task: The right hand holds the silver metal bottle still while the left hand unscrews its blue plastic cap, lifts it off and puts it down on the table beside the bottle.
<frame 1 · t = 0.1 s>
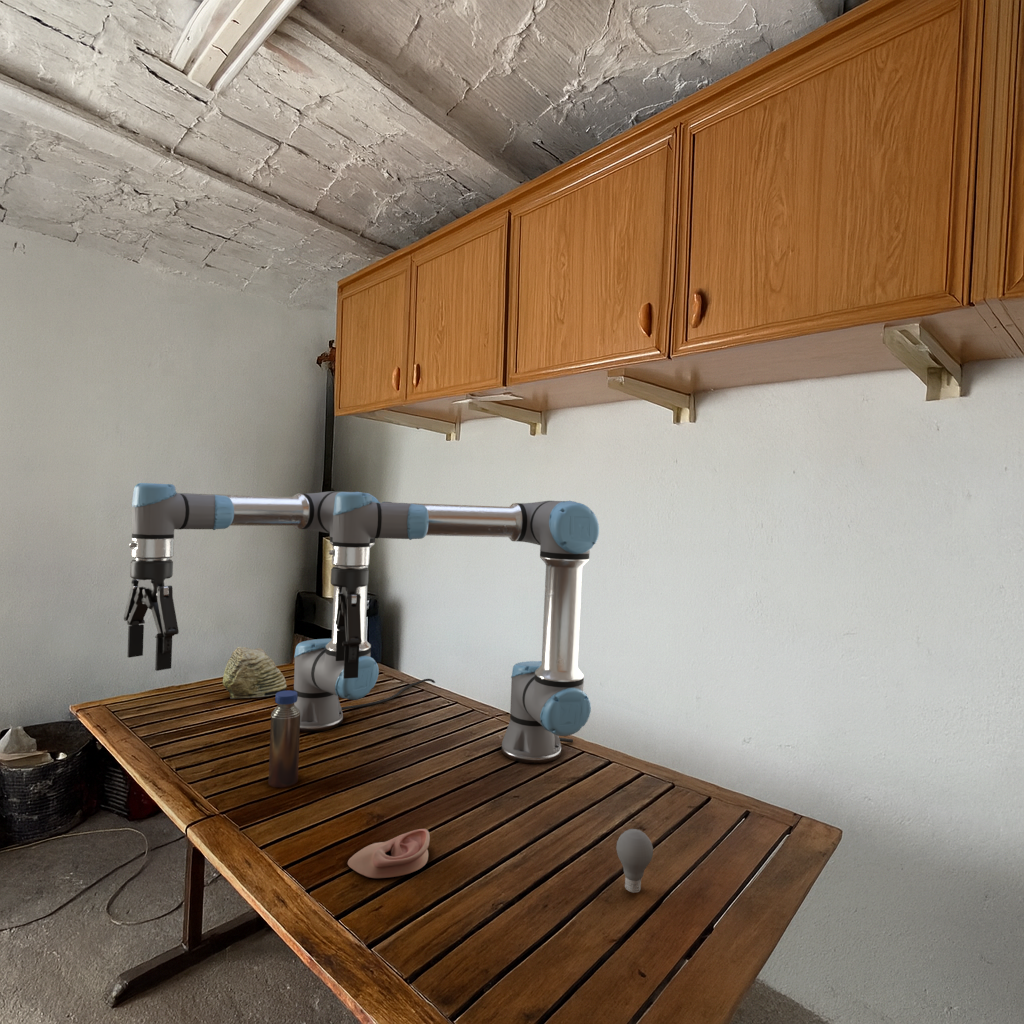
left hand: (148, 662, 129), 28 cm above the table, tool pointing down, fingers open, 13 cm apart
right hand: (346, 668, 131), 28 cm above the table, tool pointing down, fingers open, 13 cm apart
bottle: (283, 781, 140), on the table
cap: (286, 694, 140), point 19 cm above the table, screwed on, not yet turned
anatomical model: (389, 861, 111), on the table
light bulb: (632, 891, 106), on the table
fossil: (254, 694, 198), on the table
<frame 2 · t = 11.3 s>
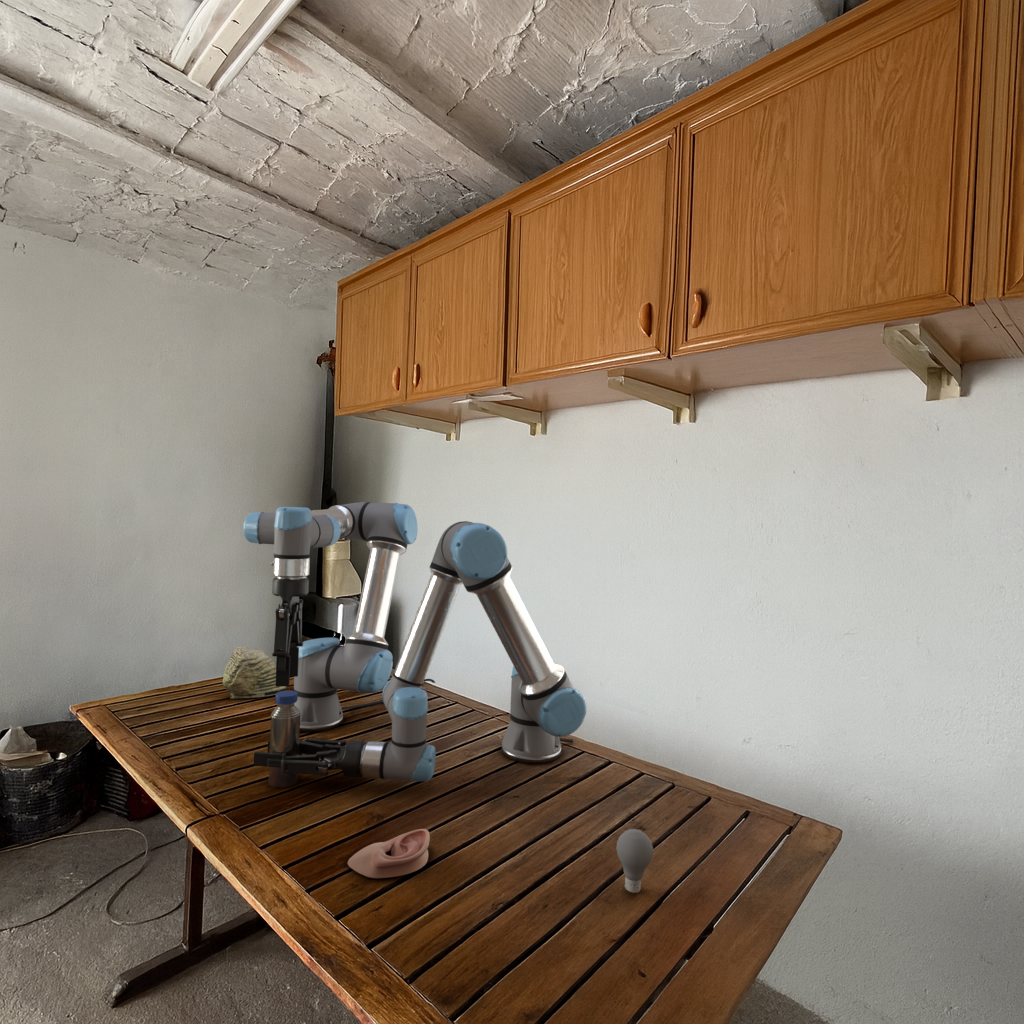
left hand: (287, 680, 140), 22 cm above the table, tool pointing down, fingers open, 7 cm apart
right hand: (261, 752, 140), 6 cm above the table, tool horizontal, fingers closed on bottle, 6 cm apart
bottle: (283, 781, 140), on the table, touching right hand
everything else where it was.
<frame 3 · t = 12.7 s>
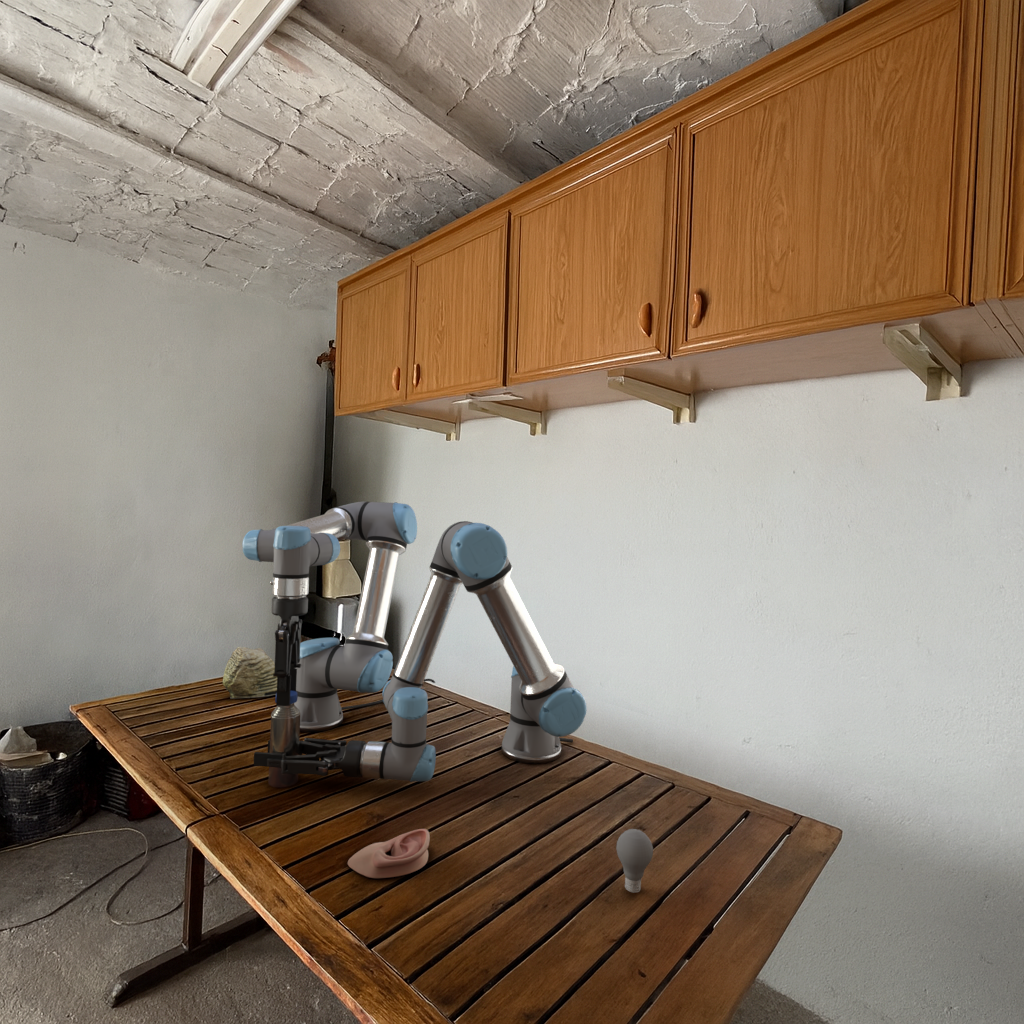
left hand: (286, 701, 140), 18 cm above the table, tool pointing down, fingers closed on cap, 4 cm apart
right hand: (261, 752, 140), 6 cm above the table, tool horizontal, fingers closed on bottle, 6 cm apart
bottle: (283, 781, 140), on the table, touching right hand
cap: (286, 694, 140), point 19 cm above the table, screwed on, not yet turned, touching left hand
everything else where it was.
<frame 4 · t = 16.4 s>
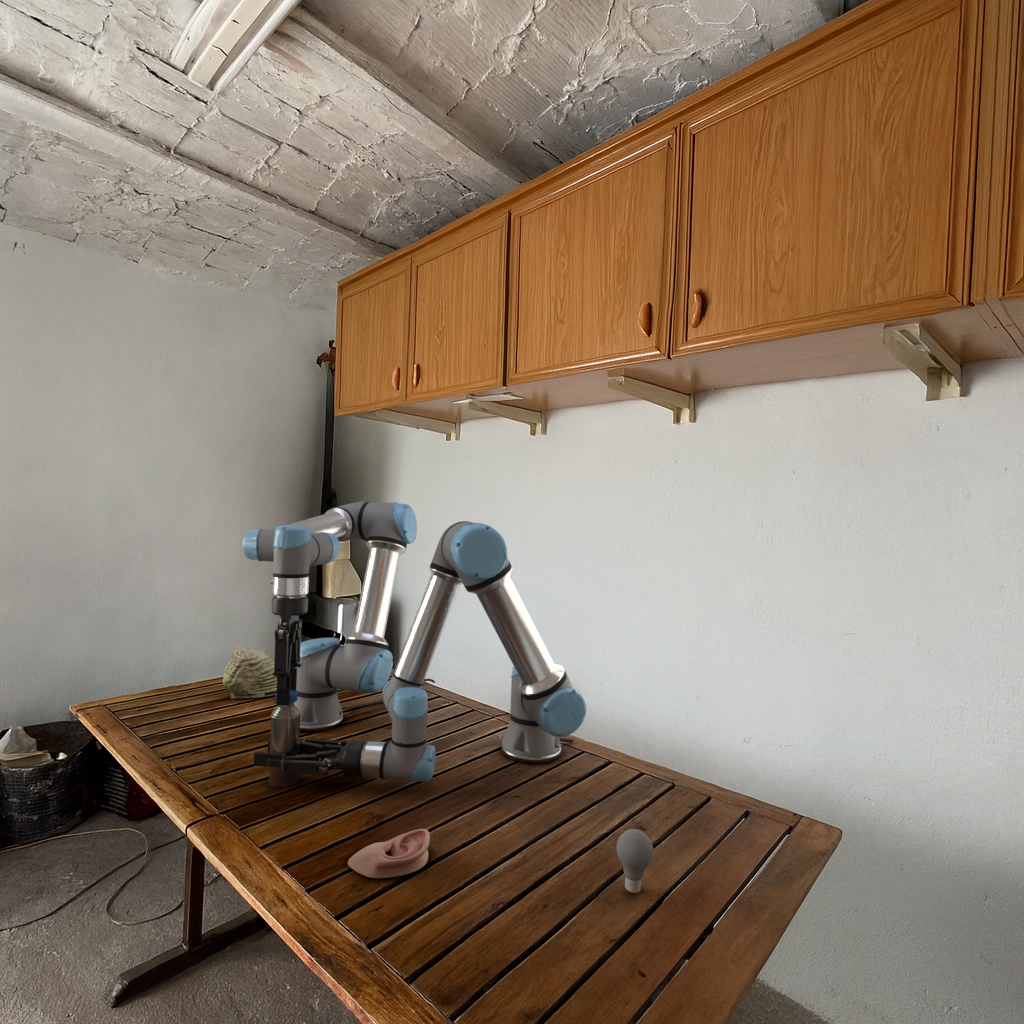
left hand: (286, 700, 140), 18 cm above the table, tool pointing down, fingers closed on cap, 4 cm apart
right hand: (261, 752, 140), 6 cm above the table, tool horizontal, fingers closed on bottle, 6 cm apart
bottle: (283, 781, 140), on the table, touching right hand
cap: (286, 694, 140), point 19 cm above the table, turned 125° so far, risen 0.1 cm, still on its thread, touching left hand
everything else where it was.
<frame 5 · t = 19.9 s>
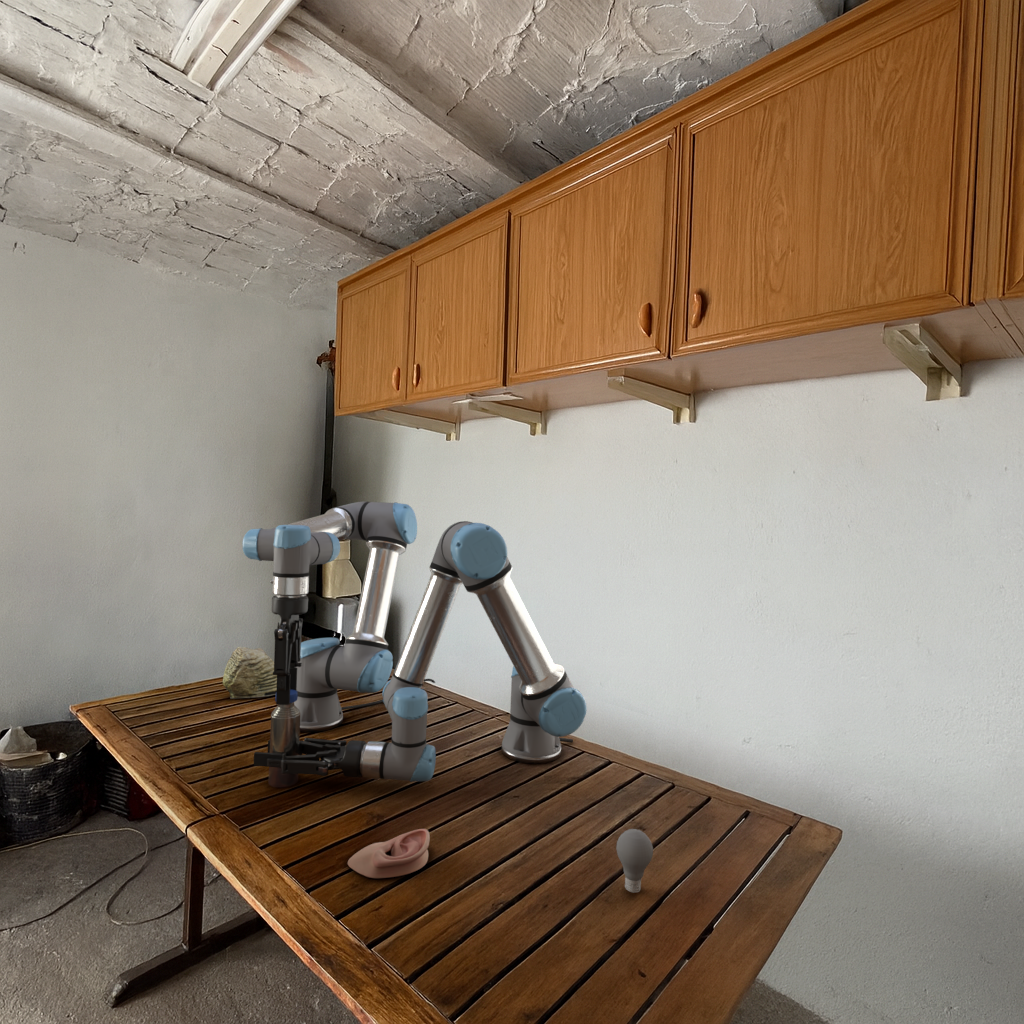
left hand: (286, 700, 140), 18 cm above the table, tool pointing down, fingers closed on cap, 4 cm apart
right hand: (261, 752, 140), 6 cm above the table, tool horizontal, fingers closed on bottle, 6 cm apart
bottle: (283, 781, 140), on the table, touching right hand
cap: (286, 693, 140), point 20 cm above the table, turned 249° so far, risen 0.2 cm, still on its thread, touching left hand
everything else where it was.
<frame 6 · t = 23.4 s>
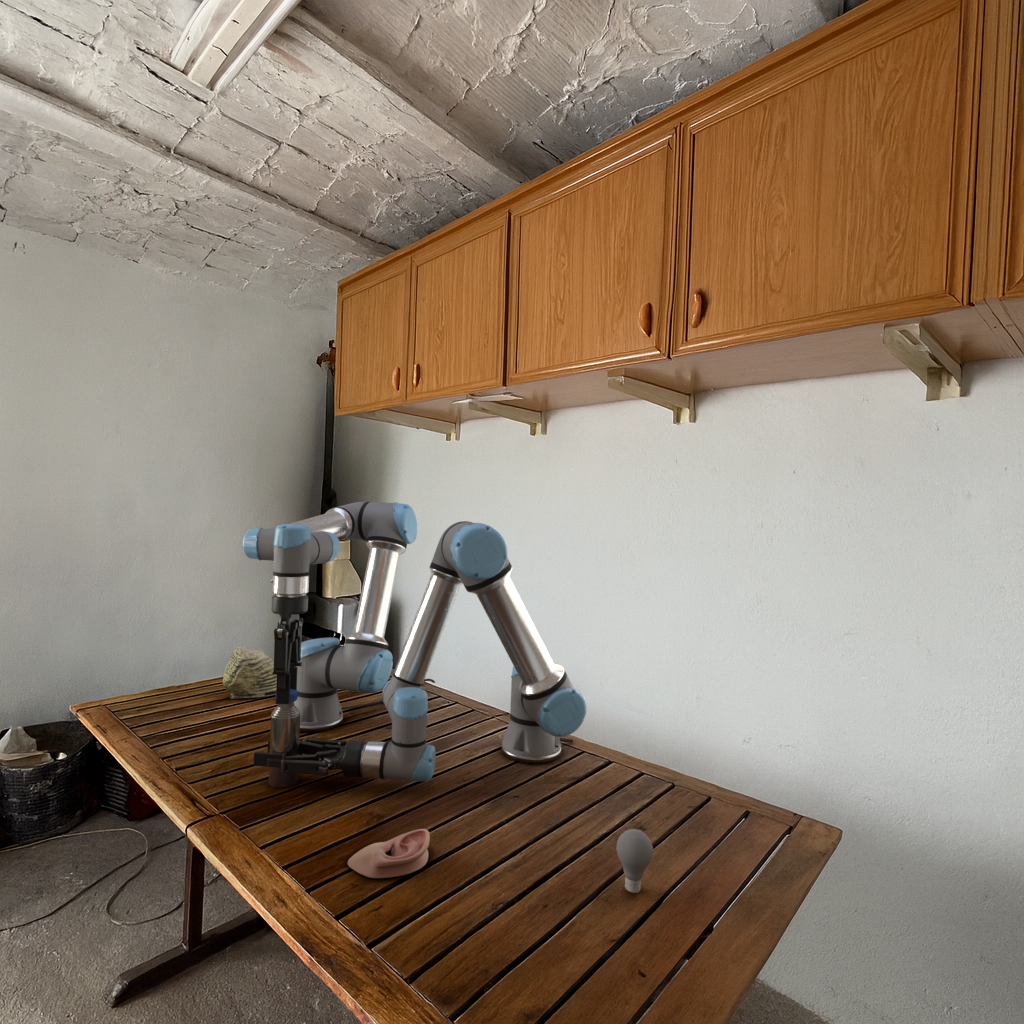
left hand: (286, 699, 140), 18 cm above the table, tool pointing down, fingers closed on cap, 4 cm apart
right hand: (261, 752, 140), 6 cm above the table, tool horizontal, fingers closed on bottle, 6 cm apart
bottle: (283, 781, 140), on the table, touching right hand
cap: (286, 693, 140), point 20 cm above the table, turned 374° so far, risen 0.3 cm, still on its thread, touching left hand
everything else where it was.
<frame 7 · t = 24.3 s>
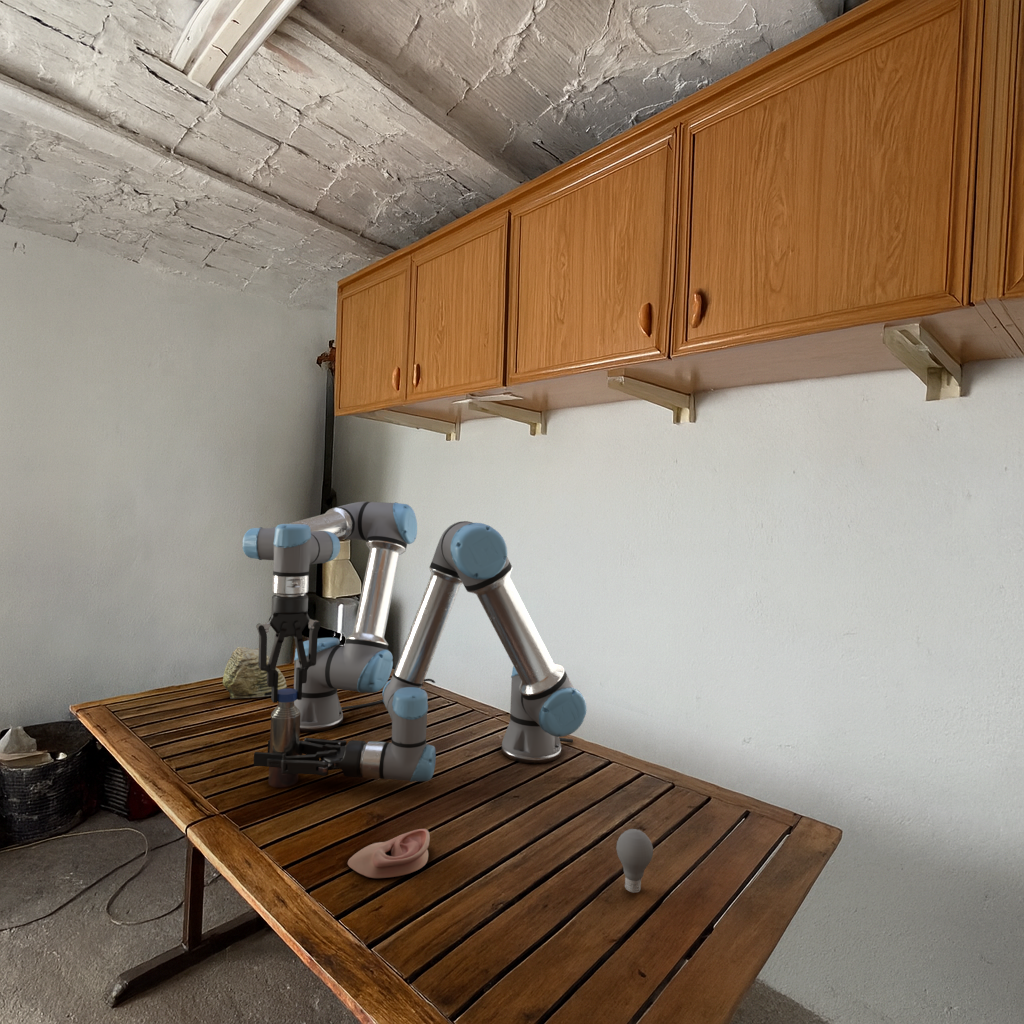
left hand: (286, 699, 140), 18 cm above the table, tool pointing down, fingers closed on cap, 4 cm apart
right hand: (261, 752, 140), 6 cm above the table, tool horizontal, fingers closed on bottle, 6 cm apart
bottle: (283, 781, 140), on the table, touching right hand
cap: (286, 692, 140), point 20 cm above the table, off its thread, touching left hand
everything else where it was.
when the left hand's fingers open (1 cm above the table, at t = 29.8 s): cap drops 1 cm, point 1 cm above the table.
when the right hand's fingers open (6 cm above the table, at t = 30.9 s): bottle stays where it is, on the table.
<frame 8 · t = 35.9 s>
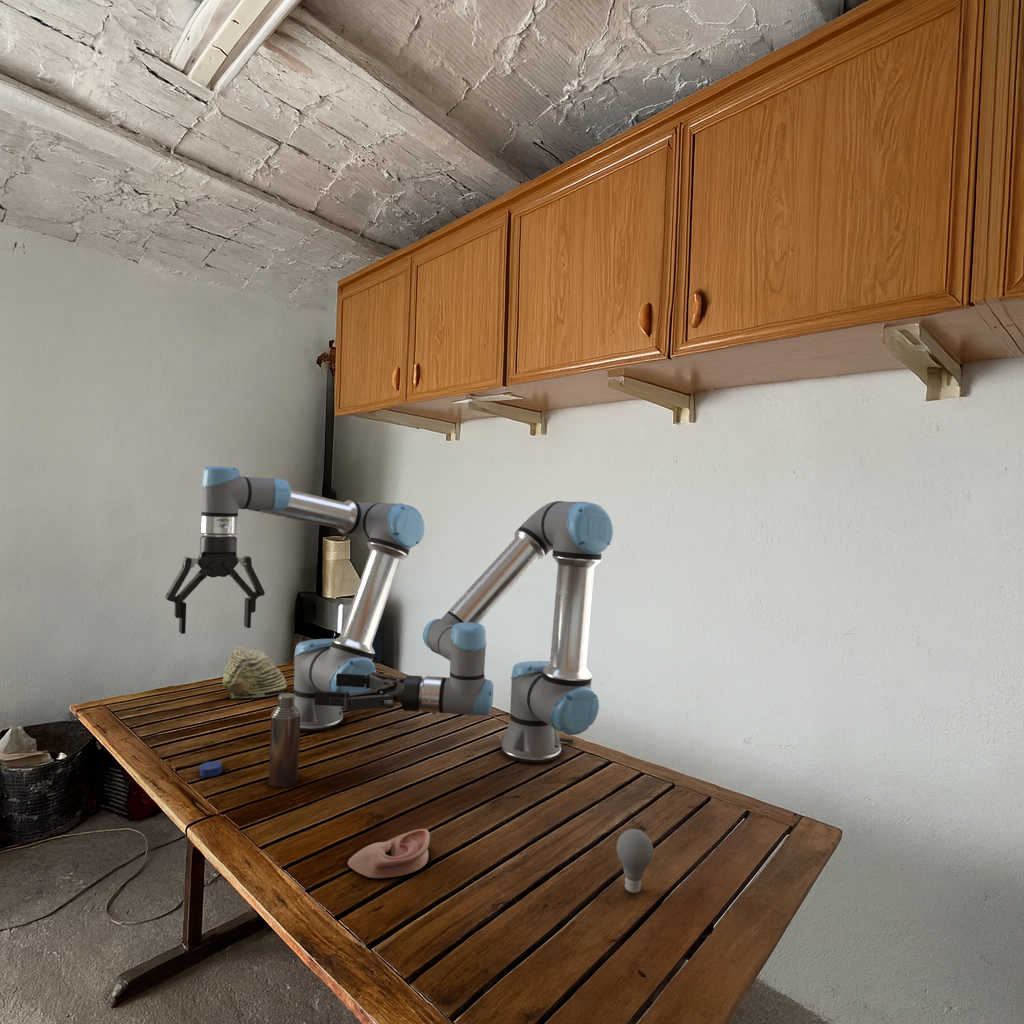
left hand: (215, 629, 142), 32 cm above the table, tool pointing down, fingers open, 13 cm apart
right hand: (326, 688, 139), 21 cm above the table, tool horizontal, fingers open, 13 cm apart
bottle: (283, 781, 140), on the table
cap: (210, 766, 143), point 1 cm above the table, off its thread
everything else where it was.
at the end: cap came off its thread; cap point 1.4 cm above the table; the left hand is holding nothing; the right hand is holding nothing; bottle tilted 0°; bottle moved 0.0 cm from its start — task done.
